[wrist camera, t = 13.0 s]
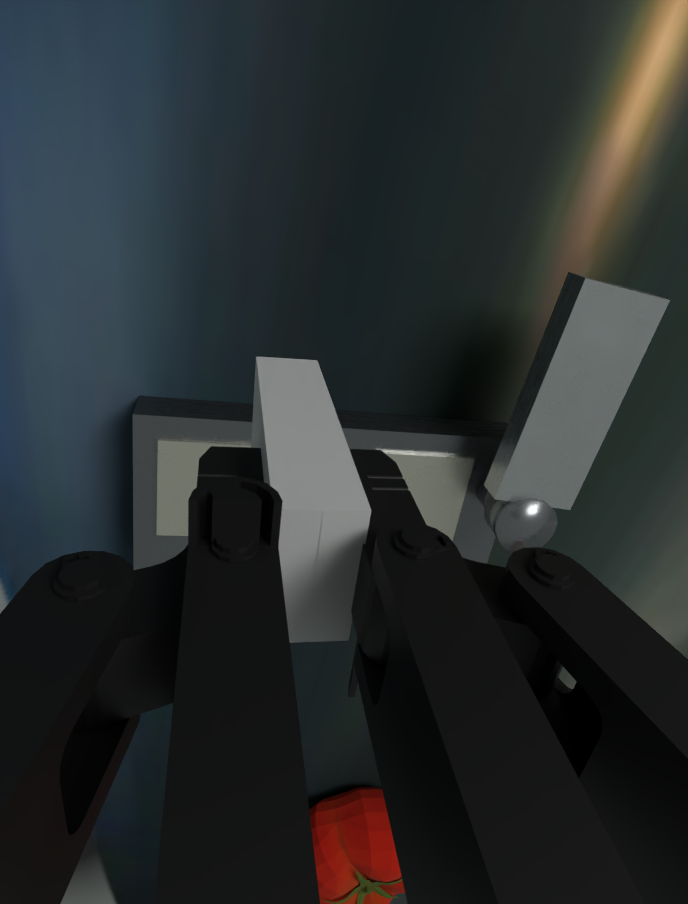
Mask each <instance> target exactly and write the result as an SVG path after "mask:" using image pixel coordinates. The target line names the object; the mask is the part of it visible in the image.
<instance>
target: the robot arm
mask: <svg viewBox="0 0 688 904" xmlns="http://www.w3.org/2000/svg"><path fill="white" fill-rule="evenodd" d="M352 618H353V621H354V625H355V629H356V633H357V637H358V638H357V643H356V648H355V654H354V659H353V665H352V670H351V675H350V681H349V689H348V697H355V692H356V687H357V683H358V684H359V689H360V693H361V698H362V702H363V706H364V711H365V715H366V720H367V724H368V729H369V733H370V738H371V742H372V747H373V751H374V756H375V760H376V764H377V769H378V773H379V778H380V782H381V787H382V791H383V796H384V800H385V805H386V809H387V814H388V818H389V822H390V827H391V831H392V836H393V840H394V845H395V849H396V854H397V858H398V863H399V867H400V872H401V876H402V881H403V885H404V889H405V894H406V898H407V903H408V904H688V659H687V658H686V657H684V656H683V655H682V654H681V653H680V652H679V651H678V650H676V649H675V648H674V647H673V646H672V645H671V644H670V643H669V642H667V641H666V640H665V639H664V638H663V637H662V636H661V635H660V634H658V633H657V632H656V631H655V630H654V629H653V628H652V627H651V626H649V625H648V624H647V623H646V622H645V621H644V620H643V619H642V618H640V617H639V616H638V615H637V614H636V613H635V612H634V611H632V610H631V609H630V608H629V607H628V606H627V605H626V604H625V603H623V602H622V601H621V600H620V599H619V598H618V597H617V596H616V595H614V594H613V593H612V592H611V591H610V590H609V589H608V588H607V587H605V586H604V585H603V584H602V583H601V582H600V581H599V580H598V579H596V578H595V577H594V576H593V575H592V574H591V573H590V572H588V571H587V570H586V569H585V568H584V567H583V566H581V565H580V564H579V563H577V562H576V561H574V560H573V559H571V558H570V557H568V556H566V555H563V554H561V553H559V552H557V551H554V550H550V549H545V548H540V547H528V548H522V549H519V550H517V551H514V552H513V553H512V555H511V556H510V558H509V559H508V562H507V565H506V568H504V567H500V566H495V565H490V564H485V563H481V562H476V561H473V560H469V559H466V558H463V557H462V556H461V554H460V552H459V550H458V548H457V547H456V545H455V544H454V543H453V541H452V540H451V539H450V538H449V537H448V536H447V535H445V534H444V533H442V532H441V531H439V530H438V529H436V528H433V527H430V526H428V525H426V523H425V521H424V519H423V517H422V515H421V513H420V511H419V508H418V506H417V504H416V502H415V500H414V498H413V496H412V494H411V492H410V491H409V490H408V486H407V484H406V482H405V480H404V479H403V476H402V473H401V471H400V469H399V467H398V465H397V463H396V462H395V461H394V460H393V459H391V458H390V457H389V456H388V455H386V454H385V453H384V452H383V451H382V450H368V449H349V447H348V444H347V442H346V439H345V436H344V433H343V431H342V428H341V425H340V422H339V420H338V417H337V414H336V411H335V408H334V406H333V403H332V400H331V397H330V395H329V392H328V389H327V386H326V384H325V381H324V378H323V375H322V373H321V370H320V367H319V364H318V362H317V360H303V359H287V358H271V357H256V369H255V387H254V404H253V421H252V438H251V448H250V447H219V446H211V447H210V448H209V449H208V450H207V451H206V452H205V453H204V454H203V455H202V456H201V457H200V458H199V466H198V476H197V488H195V489H194V490H193V491H192V493H191V495H190V497H189V500H188V545H187V546H186V548H185V549H184V550H183V551H182V552H180V553H179V554H178V555H177V556H175V557H173V558H171V559H169V560H167V561H165V562H163V563H160V564H157V565H153V566H150V567H146V568H141V569H137V570H133V569H132V566H131V564H129V563H128V562H127V561H126V560H124V559H123V558H122V557H120V556H118V555H114V554H111V553H107V552H104V551H82V552H77V553H72V554H67V555H64V556H61V557H59V558H57V559H55V560H53V561H50V562H48V563H46V564H45V565H44V566H43V567H41V568H40V569H39V570H38V571H37V572H35V573H34V574H33V575H32V576H31V577H30V579H29V580H28V581H27V582H26V583H25V585H24V586H23V587H22V588H21V589H20V591H19V592H18V593H17V594H16V595H15V597H14V598H13V599H12V600H11V602H10V603H9V604H8V605H7V606H6V608H5V609H4V610H3V611H2V612H1V614H0V904H60V903H61V901H62V899H63V896H64V894H65V892H66V889H67V887H68V885H69V882H70V880H71V878H72V876H73V873H74V871H75V869H76V866H77V864H78V862H79V859H80V857H81V855H82V852H83V850H84V848H85V846H86V843H87V841H88V839H89V836H90V834H91V832H92V830H93V827H94V825H95V823H96V820H97V818H98V816H99V813H100V811H101V809H102V806H103V804H104V802H105V800H106V797H107V795H108V793H109V790H110V788H111V786H112V783H113V781H114V779H115V777H116V774H117V772H118V770H119V767H120V765H121V763H122V760H123V758H124V756H125V753H126V751H127V749H128V747H129V744H130V742H131V740H132V737H133V735H134V733H135V730H136V728H137V726H138V724H139V720H140V715H141V713H144V712H147V711H150V710H153V709H156V708H159V707H162V706H165V705H168V704H171V703H173V713H172V724H171V734H170V745H169V755H168V766H167V777H166V787H165V798H164V808H163V819H162V829H161V840H160V851H159V861H158V872H157V882H156V893H155V903H154V904H320V898H319V889H318V880H317V872H316V863H315V855H314V846H313V838H312V829H311V821H310V812H309V804H308V795H307V787H306V778H305V769H304V761H303V752H302V744H301V735H300V727H299V718H298V710H297V701H296V693H295V684H294V676H293V667H292V658H291V650H290V643H292V642H319V641H347V640H349V635H350V629H351V623H352ZM562 667H564V668H565V669H566V670H567V671H568V672H569V673H570V674H571V676H572V677H573V678H574V679H575V680H576V681H577V682H576V685H575V687H574V689H570V688H568V687H567V686H566V685H565V684H564V683H563V682H562V681H561V680H560V679H559V678H558V677H559V674H560V672H561V670H562Z"/></svg>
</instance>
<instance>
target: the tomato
mask: <svg viewBox="0 0 688 904" xmlns="http://www.w3.org/2000/svg"><path fill="white" fill-rule="evenodd" d="M309 812H310V821H311V829H312V838H313V846H314V855H315V863H316V872H317V880H318V889H319V898H320V904H389V903H390V902H391V900H392V899H393V898H397V897H394V896H395V894H396V893H398V894H401V893H405V889H404V885H403V881H402V876H401V872H400V867H399V863H398V858H397V854H396V849H395V845H394V840H393V836H392V831H391V827H390V822H389V818H388V814H387V809H386V805H385V800H384V796H383V791H382V789H380V788H376V787H360V788H355V789H352V790H350V791H347V792H344V793H341V794H338V795H335V796H331V797H328V798H325V799H322V800H321V801H320V802H318V803H317V804H316V805H315V806H313V807H312V808H311V809H310V810H309Z"/></svg>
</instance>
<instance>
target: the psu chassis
mask: <svg viewBox="0 0 688 904" xmlns="http://www.w3.org/2000/svg"><path fill="white" fill-rule="evenodd" d="M335 411H336V414H337V417H338V420H339V422H340V425H341V428H342V431H343V433H344V436H345V439H346V442H347V444H348V447H349V449H368V450H382V451H383V452H384V453H385V454H386V455H388V456H389V457H390V458H391V459H393V460H394V461H395V462H396V463H397V465H398V467H399V469H400V471H401V473H402V476H403V479H404V480H405V482H406V484H407V486H408V490H409V491H410V492H411V494H412V496H413V498H414V500H415V502H416V504H417V506H418V508H419V511H420V513H421V515H422V517H423V519H424V521H425V523H426V525H428V526H430V527H433V528H436V529H438V530H439V531H441V532H442V533H444V534H445V535H447V536H448V537H449V538H450V539H451V540H452V541H453V543H454V544H455V545H456V547H457V548H458V550H459V552H460V554H461V556H462V557H463V558H466V559H469V560H473V561H476V562H481V563H485V564H487V562H488V558H489V555H490V552H491V549H492V546H493V542H494V539H495V534H494V533H493V532H492V530H491V529H490V527H489V526H488V524H487V523H486V521H485V518H484V508H485V505H486V503H487V501H488V499H489V498H490V496H491V494H490V493H489V491H488V490H487V489H486V487H485V486H484V483H485V481H486V478H487V476H488V473H489V471H490V468H491V466H492V463H493V461H494V458H495V456H496V453H497V451H498V448H499V446H500V443H501V441H502V438H503V436H504V433H505V431H506V428H507V426H508V423H503V422H489V421H475V420H462V419H448V418H434V417H421V416H407V415H393V414H380V413H366V412H352V411H339V410H335ZM252 421H253V404H243V403H230V402H216V401H202V400H189V399H175V398H161V397H148V396H139V398H138V401H137V403H136V406H135V409H134V412H133V563H134V570H137V569H141V568H146V567H150V566H153V565H157V564H160V563H163V562H165V561H167V560H169V559H171V558H173V557H175V556H177V555H178V554H179V553H180V552H182V551H183V550H184V549H185V548H186V546H187V545H188V500H189V497H190V495H191V493H192V491H193V490H194V489H195V488H197V476H198V466H199V458H200V457H201V456H202V455H203V454H204V453H205V452H206V451H207V450H208V449H209V448H210V447H211V446H219V447H250V448H251V438H252Z"/></svg>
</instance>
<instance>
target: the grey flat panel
mask: <svg viewBox="0 0 688 904" xmlns="http://www.w3.org/2000/svg"><path fill="white" fill-rule="evenodd" d="M669 301H670V300H668V299H665V298H662V297H659V296H656V295H653V294H650V293H647V292H643V291H639V290H635V289H631V288H628V287H624V286H620V285H616V284H613V283H609V282H605V281H601V280H597V279H594V278H590V277H586V276H582V275H578V274H575V273H571V272H568V275H567V277H566V280H565V282H564V285H563V287H562V290H561V292H560V295H559V297H558V300H557V302H556V305H555V307H554V310H553V312H552V315H551V317H550V320H549V322H548V325H547V327H546V330H545V332H544V335H543V338H542V340H541V343H540V345H539V348H538V350H537V353H536V355H535V358H534V360H533V363H532V365H531V368H530V370H529V373H528V375H527V378H526V380H525V383H524V385H523V388H522V390H521V393H520V395H519V398H518V400H517V403H516V405H515V408H514V411H513V413H512V416H511V418H510V421H509V423H508V426H507V428H506V431H505V433H504V436H503V438H502V441H501V443H500V446H499V448H498V451H497V453H496V456H495V458H494V461H493V463H492V466H491V468H490V471H489V473H488V476H487V478H486V481H485V483H484V486H485V487H486V489H487V490H488V491H489V493H490V494H491V496H490V498H489V499H488V501H487V503H486V505H485V508H484V518H485V521H486V523H487V524H488V526H489V527H490V529H491V530H492V532H493V533H494V534H495V536H496V537H497V539H498V540H499V542H500V543H501V545H502V546H503V547H504V548H505V549H506V550H508V551H510V552H514V551H517V550H519V549H522V548H528V547H542V546H543V545H544V544H545V543H546V542H548V540H549V539H550V538H551V537H552V535H553V534H554V532H555V529H556V526H557V516H556V513H555V511H554V510H553V509H552V508H551V507H553V508H560V509H567V510H570V509H571V507H572V505H573V503H574V501H575V499H576V497H577V495H578V492H579V490H580V488H581V486H582V484H583V482H584V480H585V478H586V476H587V473H588V471H589V469H590V467H591V465H592V463H593V461H594V459H595V457H596V455H597V452H598V450H599V448H600V446H601V444H602V442H603V440H604V438H605V436H606V434H607V431H608V429H609V427H610V425H611V423H612V421H613V419H614V417H615V415H616V413H617V410H618V408H619V406H620V404H621V402H622V400H623V398H624V396H625V394H626V392H627V389H628V387H629V385H630V383H631V381H632V379H633V377H634V375H635V373H636V370H637V368H638V366H639V364H640V362H641V360H642V358H643V356H644V354H645V352H646V349H647V347H648V345H649V343H650V341H651V339H652V337H653V335H654V333H655V331H656V328H657V326H658V324H659V322H660V320H661V318H662V316H663V314H664V312H665V310H666V307H667V305H668V303H669Z"/></svg>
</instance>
